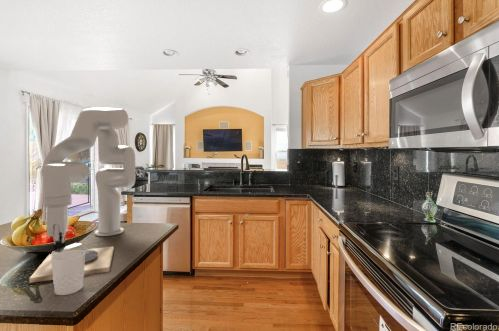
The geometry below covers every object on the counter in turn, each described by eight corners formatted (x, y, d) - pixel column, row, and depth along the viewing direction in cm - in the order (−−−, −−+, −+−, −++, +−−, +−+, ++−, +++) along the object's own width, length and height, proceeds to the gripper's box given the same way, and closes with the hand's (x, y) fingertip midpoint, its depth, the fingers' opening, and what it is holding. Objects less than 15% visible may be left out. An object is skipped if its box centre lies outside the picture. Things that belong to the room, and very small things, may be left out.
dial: (79, 251, 99) (78, 237, 99) (105, 254, 96) (105, 240, 96) (41, 266, 86) (41, 249, 86) (70, 270, 83) (70, 253, 83)
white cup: (48, 299, 70) (47, 262, 70) (56, 285, 77) (55, 251, 77) (82, 293, 73) (82, 257, 73) (87, 280, 80) (87, 248, 80)
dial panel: (113, 250, 106) (113, 238, 106) (109, 271, 87) (109, 258, 87) (50, 257, 98) (49, 245, 97) (29, 283, 78) (29, 268, 78)
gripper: (48, 197, 93) (50, 248, 94) (38, 206, 80) (41, 265, 81) (73, 195, 96) (75, 244, 98) (68, 204, 83) (70, 260, 85)
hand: (59, 253), depth 90 cm, fingers closed
